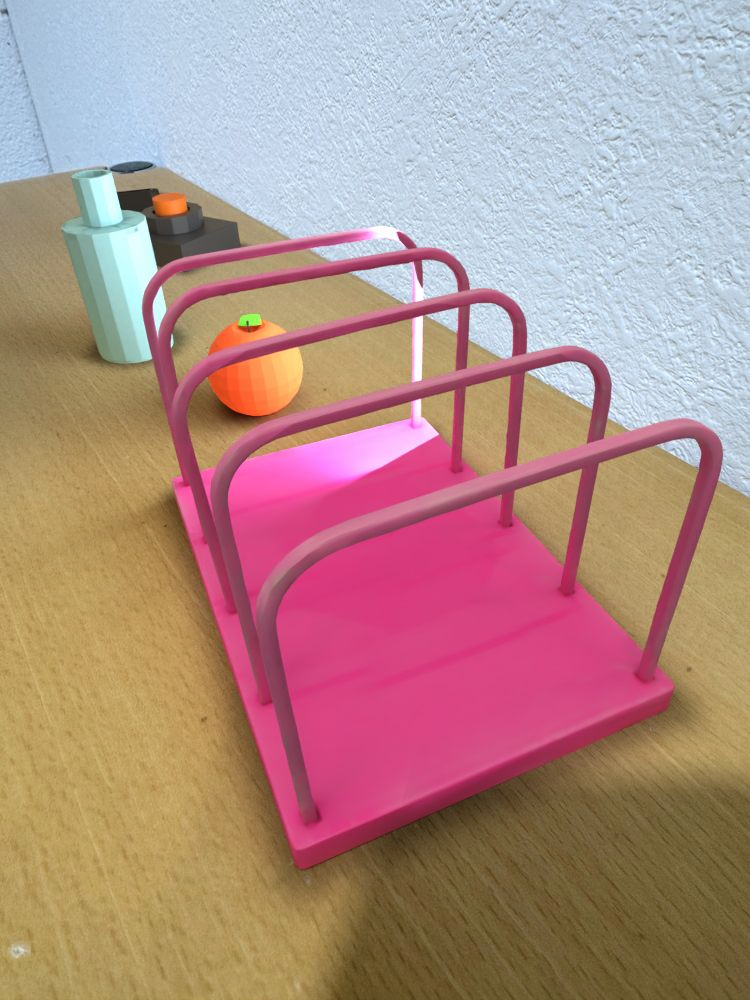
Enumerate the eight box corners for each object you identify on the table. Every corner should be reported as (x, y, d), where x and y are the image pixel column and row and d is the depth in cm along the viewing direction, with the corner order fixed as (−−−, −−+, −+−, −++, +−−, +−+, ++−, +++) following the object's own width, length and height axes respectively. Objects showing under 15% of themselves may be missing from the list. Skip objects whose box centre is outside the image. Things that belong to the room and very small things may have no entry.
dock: (118, 258, 81) (106, 214, 78) (174, 236, 86) (166, 194, 83) (186, 274, 76) (177, 227, 73) (241, 250, 82) (234, 205, 78)
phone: (157, 187, 101) (165, 215, 89) (159, 195, 101) (167, 224, 90) (101, 193, 99) (101, 222, 88) (103, 202, 100) (104, 231, 88)
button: (148, 215, 78) (145, 199, 77) (172, 207, 80) (169, 191, 79) (171, 220, 76) (168, 203, 75) (194, 211, 79) (191, 194, 78)
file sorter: (298, 877, 26) (230, 574, 16) (175, 500, 44) (108, 252, 34) (670, 711, 31) (789, 404, 21) (421, 435, 49) (424, 202, 39)
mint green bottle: (85, 356, 61) (29, 179, 52) (140, 329, 65) (96, 160, 56) (135, 373, 58) (84, 188, 49) (189, 343, 62) (151, 168, 53)
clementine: (220, 383, 56) (204, 298, 52) (306, 377, 56) (297, 292, 52) (211, 437, 50) (191, 346, 45) (307, 430, 50) (297, 338, 46)
